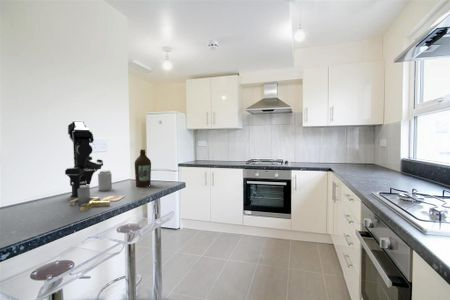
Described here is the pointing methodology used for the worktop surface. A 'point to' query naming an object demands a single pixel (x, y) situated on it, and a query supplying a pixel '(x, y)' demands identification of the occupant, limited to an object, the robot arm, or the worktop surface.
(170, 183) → the worktop surface
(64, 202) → the worktop surface
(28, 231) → the worktop surface
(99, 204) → the yellow l-shaped bracket
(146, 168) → the olive oil
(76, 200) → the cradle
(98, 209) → the worktop surface
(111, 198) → the wooden panel
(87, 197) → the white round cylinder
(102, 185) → the can
